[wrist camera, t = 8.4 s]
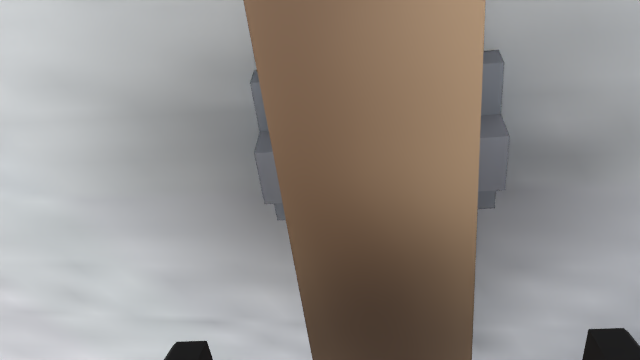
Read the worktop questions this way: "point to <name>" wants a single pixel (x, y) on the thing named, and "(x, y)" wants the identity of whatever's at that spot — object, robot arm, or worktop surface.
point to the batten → (377, 167)
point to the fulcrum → (491, 140)
